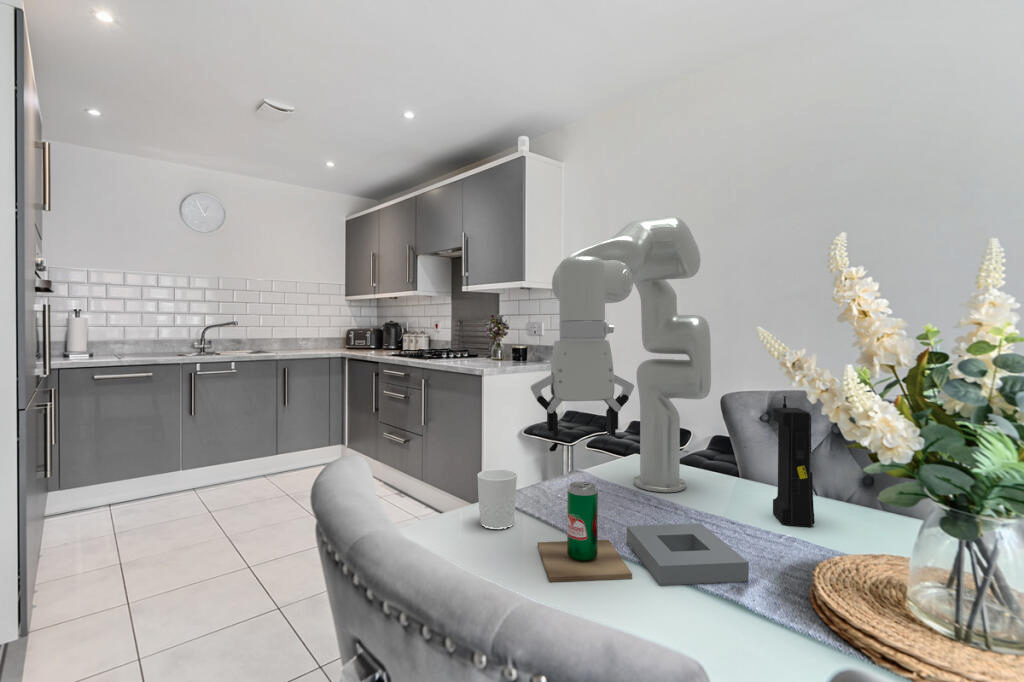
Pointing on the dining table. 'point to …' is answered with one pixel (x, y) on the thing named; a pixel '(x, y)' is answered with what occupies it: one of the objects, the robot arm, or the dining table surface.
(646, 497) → the dining table surface
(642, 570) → the dining table surface
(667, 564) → the socket block
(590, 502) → the soda can
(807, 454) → the portable radio
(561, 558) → the walnut pad
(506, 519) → the white cup
